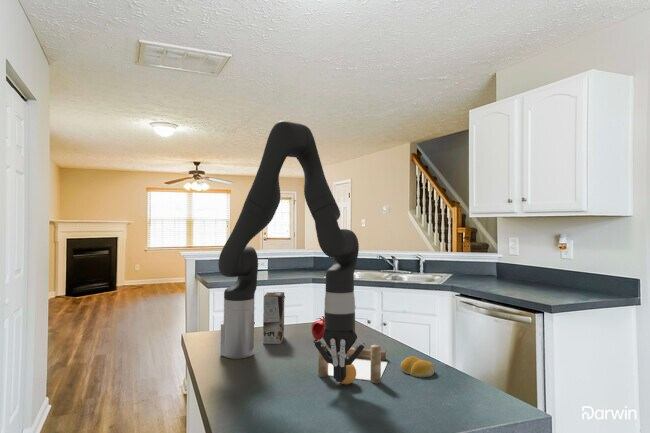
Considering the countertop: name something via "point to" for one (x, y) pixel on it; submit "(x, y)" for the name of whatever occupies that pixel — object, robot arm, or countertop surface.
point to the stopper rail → (366, 354)
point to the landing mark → (360, 369)
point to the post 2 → (375, 363)
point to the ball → (349, 374)
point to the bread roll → (417, 367)
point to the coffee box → (273, 318)
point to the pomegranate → (318, 328)
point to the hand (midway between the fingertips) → (339, 380)
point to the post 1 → (322, 366)
